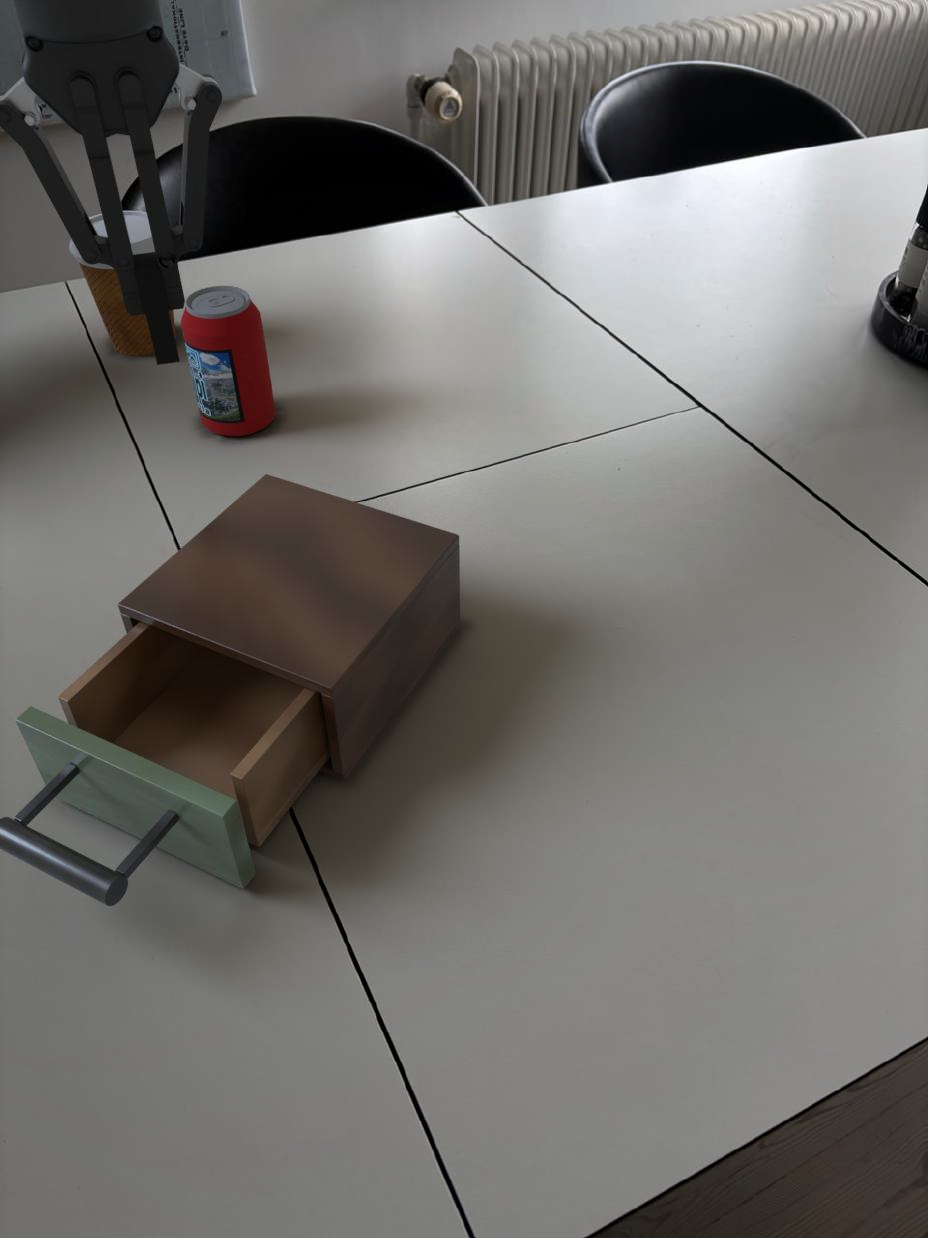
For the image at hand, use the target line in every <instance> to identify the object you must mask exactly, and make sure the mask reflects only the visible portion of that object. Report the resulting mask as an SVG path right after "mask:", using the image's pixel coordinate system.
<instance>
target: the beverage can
mask: <svg viewBox="0 0 928 1238" xmlns="http://www.w3.org/2000/svg"><path fill="white" fill-rule="evenodd" d="M180 326H181V333H182V336H183V341H184V346H185V350H186V356H187V360H188V366H189V370H190V375H191V379H192V384H193V388H194V393H195V397H196V401H197V406H198V410H199V416H200V419H201V423H202V424H203V427H204V428H206V429H207V430H208V431H210V432H211V433H213V434H217V435H220V436H221V435H222V436H227V437H243V436H247V435H248V436H249V435H251V434H255V433H257V432H259V431H261V430H262V429H264V428H266V427H267V426H269V425H270V424H271V423H272V422H273V420H274V419H275V416H276V405H275V399H274V393H273V392H274V391H273V385H272V378H271V371H270V365H269V358H268V352H267V345H266V340H265V333H264V328H263V321H262V315H261V311H260V310H259V308H258V307H257V305H256V304H255V303H254V301H252V299H251V296H250V294H249V292H247V291H246V290H245V289H243V288H241V287H238V286H234V285H233V286H232V285H213V286H208V287H204V288H200V289H198V290H196V291H194V292H192V293H191V294H189V295H188V296H187V297H186V298H185V303H184V308H183V312H182V315H181V319H180Z"/></svg>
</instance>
